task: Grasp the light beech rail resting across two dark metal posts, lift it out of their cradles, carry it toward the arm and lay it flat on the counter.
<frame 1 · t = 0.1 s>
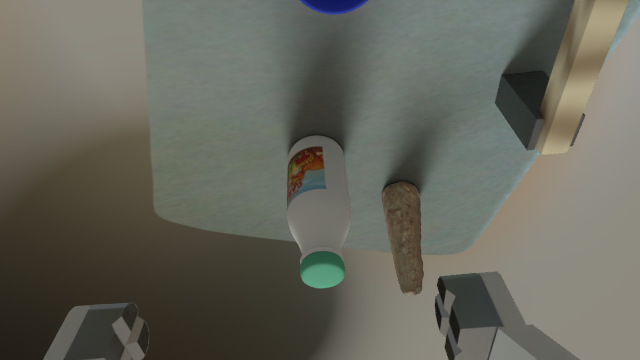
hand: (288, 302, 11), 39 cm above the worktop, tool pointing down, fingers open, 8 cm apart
post 1: (518, 87, 51), on the worktop
rail: (574, 45, 40), point 8 cm above the worktop, touching post 1, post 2
milk bottle: (315, 155, 57), on the worktop
brown stone cone: (399, 194, 63), on the worktop
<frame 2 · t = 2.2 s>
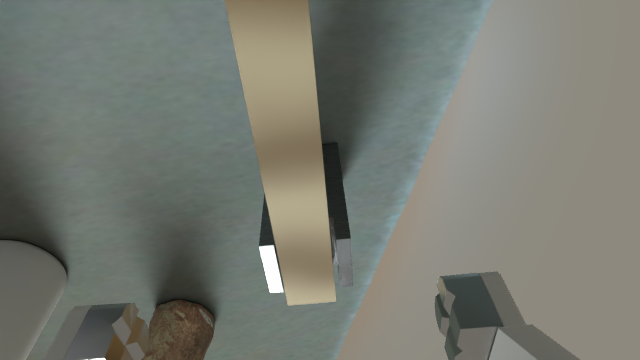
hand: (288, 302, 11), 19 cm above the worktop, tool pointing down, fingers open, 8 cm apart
post 1: (305, 168, 31), on the worktop
rail: (289, 111, 20), point 8 cm above the worktop, touching post 1, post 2
milk bottle: (24, 266, 37), on the worktop
brown stone cone: (185, 315, 42), on the worktop
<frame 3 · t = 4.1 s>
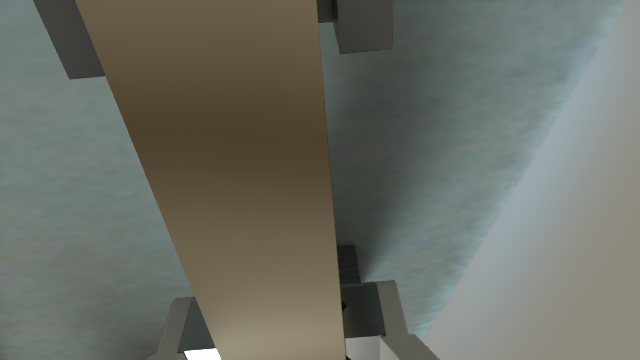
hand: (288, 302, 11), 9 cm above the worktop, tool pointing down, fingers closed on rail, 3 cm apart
post 1: (312, 273, 24), on the worktop
rail: (289, 277, 12), point 8 cm above the worktop, touching gripper, post 1, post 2
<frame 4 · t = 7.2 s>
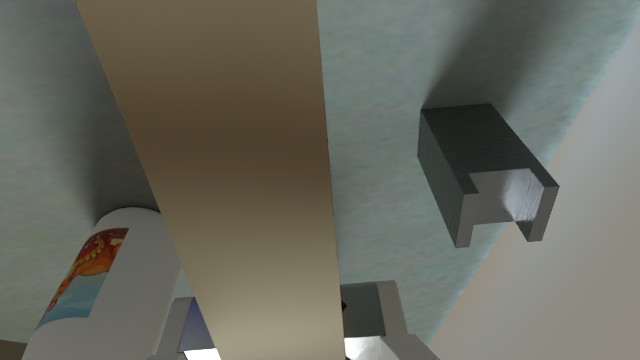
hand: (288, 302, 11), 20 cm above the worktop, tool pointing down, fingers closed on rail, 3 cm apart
post 1: (452, 131, 31), on the worktop
rail: (289, 279, 12), point 19 cm above the worktop, touching gripper
milk bottle: (144, 236, 36), on the worktop
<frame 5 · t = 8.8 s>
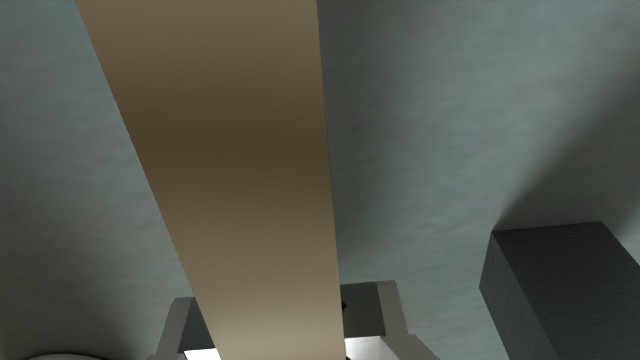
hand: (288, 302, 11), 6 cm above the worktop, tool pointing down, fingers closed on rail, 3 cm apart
post 1: (536, 257, 20), on the worktop
rail: (289, 280, 12), point 6 cm above the worktop, touching gripper
when the fingers open (3 cm above the worktop, at t = 10.2 s): rail drops 2 cm, on the worktop.
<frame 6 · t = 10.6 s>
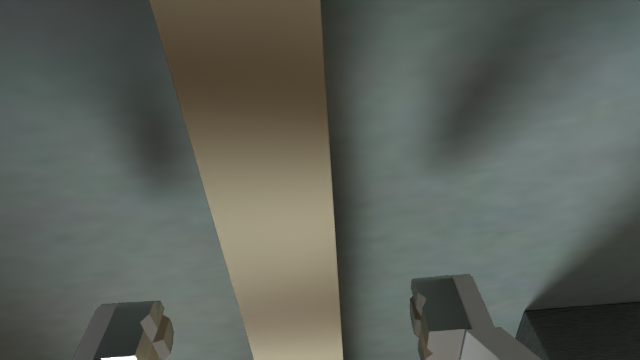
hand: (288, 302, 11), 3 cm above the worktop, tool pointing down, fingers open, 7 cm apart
post 1: (575, 336, 17), on the worktop
rail: (290, 230, 14), on the worktop
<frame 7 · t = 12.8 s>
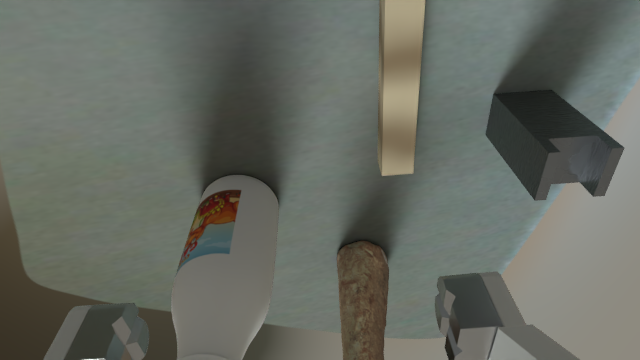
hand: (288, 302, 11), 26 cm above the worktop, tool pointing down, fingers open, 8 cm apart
post 1: (517, 113, 37), on the worktop
rail: (395, 41, 33), on the worktop
milk bottle: (241, 202, 42), on the worktop
brown stone cone: (360, 258, 47), on the worktop
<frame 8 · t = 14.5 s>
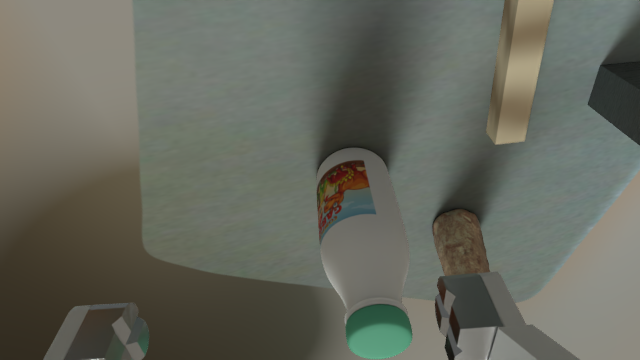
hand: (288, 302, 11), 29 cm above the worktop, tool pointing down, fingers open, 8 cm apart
post 1: (620, 83, 39), on the worktop
rail: (516, 18, 36), on the worktop
milk bottle: (351, 174, 45), on the worktop
brown stone cone: (453, 226, 50), on the worktop
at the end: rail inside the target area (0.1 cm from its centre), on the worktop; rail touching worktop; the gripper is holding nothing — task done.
